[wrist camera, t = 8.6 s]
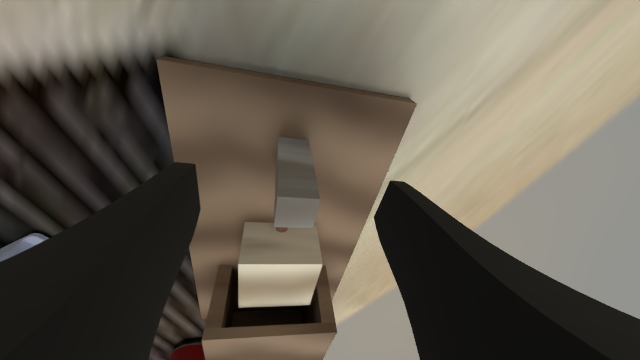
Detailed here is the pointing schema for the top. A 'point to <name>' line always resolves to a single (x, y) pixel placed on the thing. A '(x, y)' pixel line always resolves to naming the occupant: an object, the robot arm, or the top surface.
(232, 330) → the walnut shelf
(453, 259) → the robot arm
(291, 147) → the grey handled cream block
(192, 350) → the soda can
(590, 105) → the top surface
